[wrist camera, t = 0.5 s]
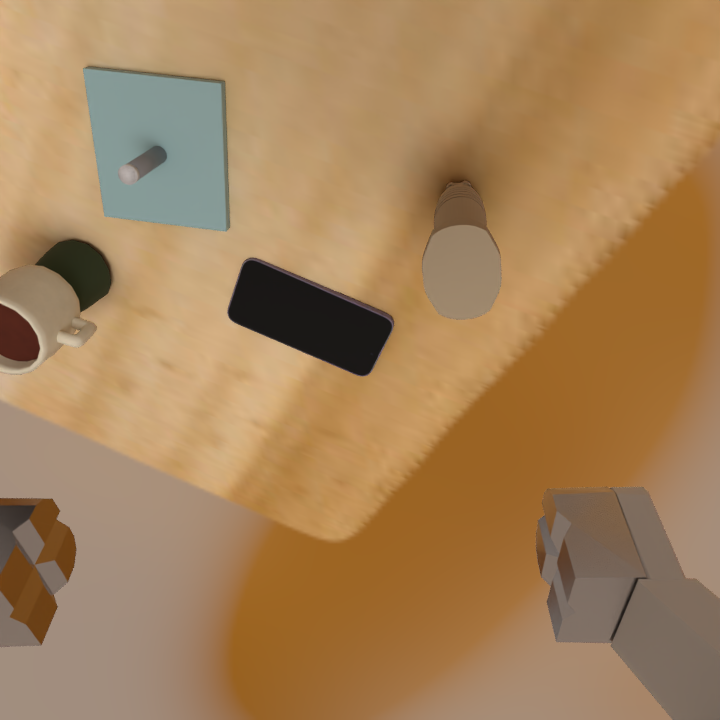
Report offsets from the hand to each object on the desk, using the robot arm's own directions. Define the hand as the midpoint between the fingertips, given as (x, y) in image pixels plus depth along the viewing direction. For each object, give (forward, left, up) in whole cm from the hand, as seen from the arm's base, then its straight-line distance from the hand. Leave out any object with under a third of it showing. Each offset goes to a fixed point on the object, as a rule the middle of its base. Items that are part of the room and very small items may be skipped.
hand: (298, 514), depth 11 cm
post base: (+7, -20, -44) cm, 49 cm away
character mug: (+19, -29, -44) cm, 57 cm away
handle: (+8, +5, -44) cm, 45 cm away
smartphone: (+21, -7, -45) cm, 50 cm away
